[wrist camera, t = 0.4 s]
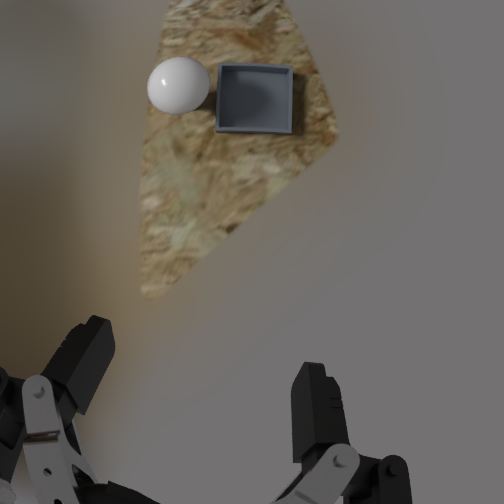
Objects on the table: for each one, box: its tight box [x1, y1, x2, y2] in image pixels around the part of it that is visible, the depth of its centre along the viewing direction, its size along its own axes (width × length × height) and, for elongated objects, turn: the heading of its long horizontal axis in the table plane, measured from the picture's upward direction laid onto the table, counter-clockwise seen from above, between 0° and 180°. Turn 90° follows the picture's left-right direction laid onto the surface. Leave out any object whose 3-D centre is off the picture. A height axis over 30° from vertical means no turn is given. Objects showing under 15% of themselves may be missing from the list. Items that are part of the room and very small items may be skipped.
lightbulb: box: [147, 56, 210, 115], centre depth 25 cm, size 6×6×11 cm
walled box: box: [215, 63, 293, 135], centre depth 29 cm, size 9×9×3 cm
